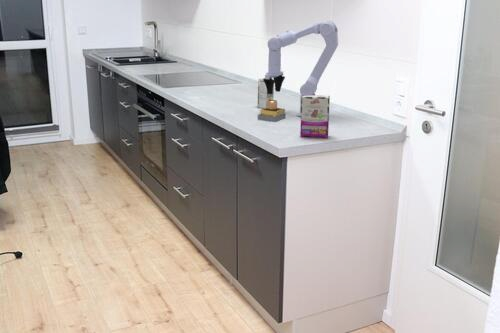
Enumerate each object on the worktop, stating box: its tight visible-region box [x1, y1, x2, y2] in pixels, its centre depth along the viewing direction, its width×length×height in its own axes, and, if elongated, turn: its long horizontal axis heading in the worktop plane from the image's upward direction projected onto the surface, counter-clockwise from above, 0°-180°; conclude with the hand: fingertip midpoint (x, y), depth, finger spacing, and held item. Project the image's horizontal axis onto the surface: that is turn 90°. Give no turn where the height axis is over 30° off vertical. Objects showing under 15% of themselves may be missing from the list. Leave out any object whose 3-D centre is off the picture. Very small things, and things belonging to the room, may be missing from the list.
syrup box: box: [257, 77, 275, 109], centre depth 280 cm, size 6×6×14 cm
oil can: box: [267, 97, 278, 111], centre depth 257 cm, size 5×5×7 cm
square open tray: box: [257, 107, 287, 123], centre depth 257 cm, size 9×10×4 cm
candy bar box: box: [299, 94, 331, 139], centre depth 225 cm, size 11×5×16 cm, turn 80°
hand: (273, 92), depth 266 cm, fingers open, 7 cm apart
